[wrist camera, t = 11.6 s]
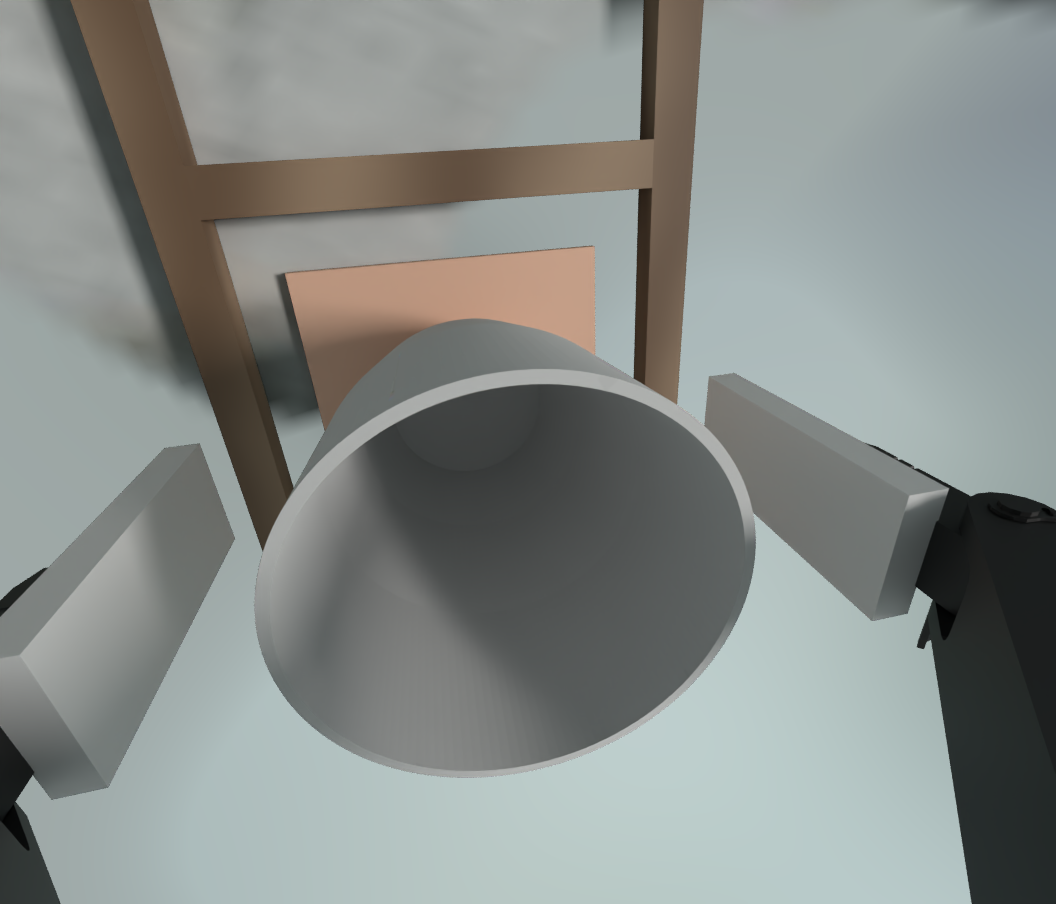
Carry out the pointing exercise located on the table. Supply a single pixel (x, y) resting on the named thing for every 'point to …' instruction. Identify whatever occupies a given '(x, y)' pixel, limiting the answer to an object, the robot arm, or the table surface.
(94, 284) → the table surface
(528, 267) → the pad
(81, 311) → the table surface
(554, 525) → the cup
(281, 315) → the table surface
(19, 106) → the table surface
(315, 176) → the brown wooden divided frame
